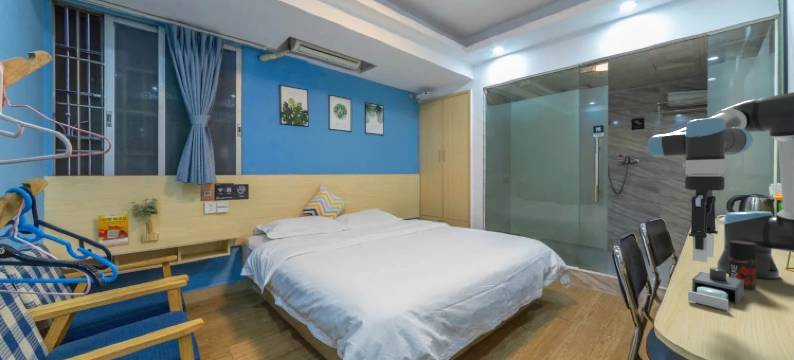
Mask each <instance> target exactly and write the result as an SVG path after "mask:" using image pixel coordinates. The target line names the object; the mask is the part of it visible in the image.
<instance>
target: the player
mask: <svg viewBox="0 0 794 360" xmlns="http://www.w3.org/2000/svg"><path fill="white" fill-rule="evenodd" d="M727 273H728V272H727V271H725V270H722V269H718V268H716V267H709V272H704V271H699V273H697V274H696V275H694V277H693V278H692V279H691V291H692V292H697V287H709V288H714V289H718V290H721V291H724V292H726V293H728V294H729V293H730V294H734V304H735V305H739V303H740V301H741V300H742V299H743V297H744V295H745V293H744V292H745V290H744V280H741V279H736V278H731V277H729V276H727Z"/></svg>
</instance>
